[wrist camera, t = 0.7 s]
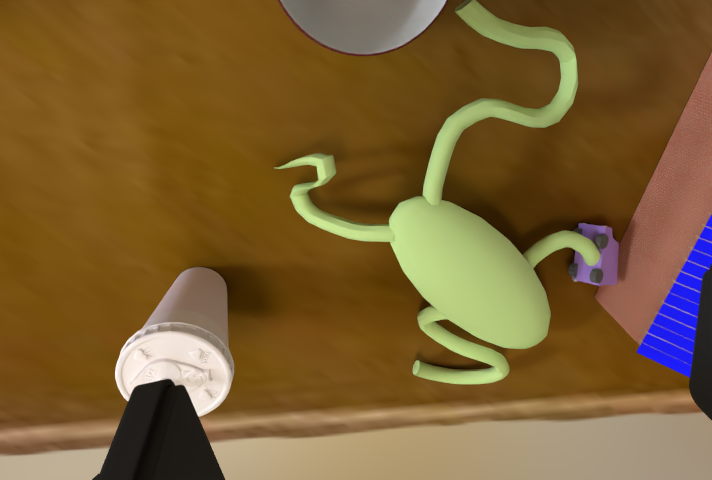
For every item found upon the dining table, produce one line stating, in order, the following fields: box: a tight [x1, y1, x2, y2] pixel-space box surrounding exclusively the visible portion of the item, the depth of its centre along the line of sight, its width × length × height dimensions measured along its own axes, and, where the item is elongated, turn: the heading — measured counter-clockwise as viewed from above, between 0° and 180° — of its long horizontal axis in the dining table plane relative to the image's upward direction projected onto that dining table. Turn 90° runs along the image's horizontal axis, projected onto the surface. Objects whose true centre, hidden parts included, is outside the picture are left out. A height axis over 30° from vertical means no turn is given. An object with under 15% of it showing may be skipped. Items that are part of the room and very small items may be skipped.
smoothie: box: [115, 267, 234, 417], centre depth 32 cm, size 6×6×14 cm
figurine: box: [276, 0, 619, 384], centre depth 36 cm, size 18×27×6 cm
